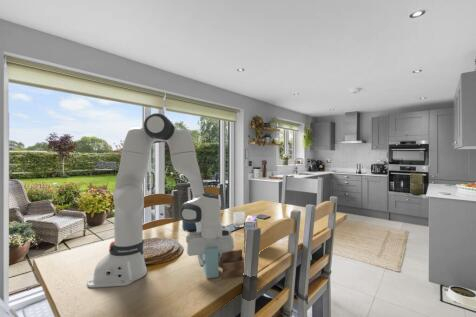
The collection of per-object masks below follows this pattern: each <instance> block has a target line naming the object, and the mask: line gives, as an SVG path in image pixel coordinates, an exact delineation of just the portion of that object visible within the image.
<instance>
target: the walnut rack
mask: <svg viewBox="0 0 476 317" xmlns="http://www.w3.org/2000/svg"><path fill="white" fill-rule="evenodd" d="M218 255H219V253H218ZM244 260H245V258H244V256H243V249H233V250H232V251H226V252H222V256H221V258H220V262H218V267H220V266H222V279H223V280H224V279H231V278H232V279H233V278H238V277H244V276H243V273H244Z"/></svg>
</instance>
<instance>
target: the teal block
mask: <svg viewBox="0 0 476 317" xmlns="http://www.w3.org/2000/svg"><path fill="white" fill-rule="evenodd" d="M203 258H205V264H204V266H203V270H204V275H205V277H206V278H205V279H213V278H219V275H220V274H219V266H218V247H217V246H214V247H206V248H205V254H203Z"/></svg>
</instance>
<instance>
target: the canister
mask: <svg viewBox="0 0 476 317" xmlns="http://www.w3.org/2000/svg"><path fill="white" fill-rule="evenodd" d="M181 221H182V220H181ZM181 225H182V226H181V227H182V230H183V229H184V230H183V231H185V230H187V231H186V232H194V231H197V228H196V224H195V223H185V222H183V221H182V224H181Z"/></svg>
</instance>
